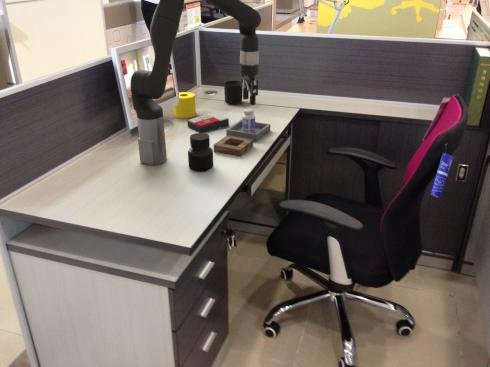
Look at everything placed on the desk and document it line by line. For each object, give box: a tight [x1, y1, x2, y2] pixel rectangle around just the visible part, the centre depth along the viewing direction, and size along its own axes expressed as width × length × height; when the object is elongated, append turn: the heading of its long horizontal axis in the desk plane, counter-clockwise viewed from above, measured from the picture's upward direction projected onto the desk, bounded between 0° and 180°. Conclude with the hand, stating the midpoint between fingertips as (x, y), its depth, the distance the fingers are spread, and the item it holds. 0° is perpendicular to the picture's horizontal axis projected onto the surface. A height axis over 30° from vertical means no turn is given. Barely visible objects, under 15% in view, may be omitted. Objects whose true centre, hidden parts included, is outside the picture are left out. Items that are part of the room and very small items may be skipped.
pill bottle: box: [241, 108, 256, 133], centre depth 198 cm, size 5×5×10 cm
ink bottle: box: [187, 132, 214, 173], centre depth 168 cm, size 10×9×12 cm
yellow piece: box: [173, 91, 197, 119], centre depth 222 cm, size 10×10×9 cm
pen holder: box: [223, 80, 243, 106], centre depth 239 cm, size 9×9×10 cm
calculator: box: [187, 112, 230, 133], centre depth 209 cm, size 11×4×15 cm
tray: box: [225, 119, 271, 143], centre depth 200 cm, size 14×14×3 cm
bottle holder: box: [213, 135, 254, 158], centre depth 185 cm, size 12×12×3 cm
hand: (249, 102), depth 195 cm, fingers open, 8 cm apart
